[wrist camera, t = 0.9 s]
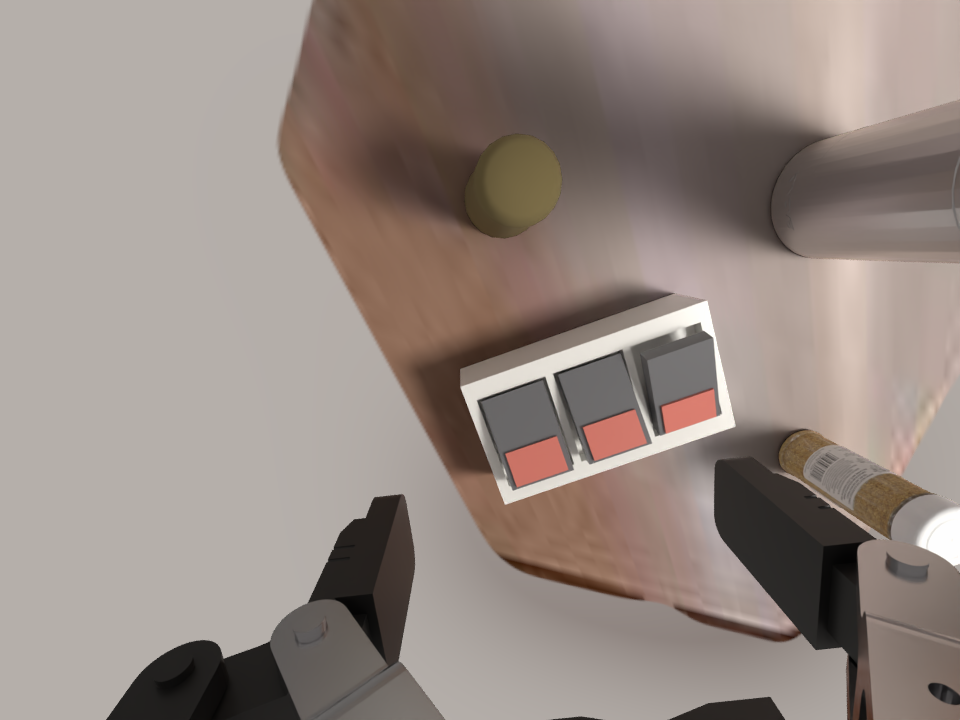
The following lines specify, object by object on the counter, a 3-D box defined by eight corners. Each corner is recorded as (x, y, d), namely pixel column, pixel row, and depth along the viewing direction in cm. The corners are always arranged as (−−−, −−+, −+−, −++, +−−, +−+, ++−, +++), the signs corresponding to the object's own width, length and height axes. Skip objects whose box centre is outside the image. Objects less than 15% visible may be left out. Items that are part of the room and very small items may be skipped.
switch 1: (541, 379, 35) (542, 380, 34) (571, 466, 35) (574, 470, 34) (481, 400, 36) (481, 401, 34) (512, 486, 35) (512, 491, 34)
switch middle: (616, 353, 35) (621, 353, 34) (647, 440, 35) (653, 443, 34) (556, 374, 35) (558, 374, 34) (586, 461, 35) (590, 465, 34)
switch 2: (703, 330, 33) (714, 338, 32) (711, 406, 36) (721, 416, 35) (639, 353, 33) (648, 361, 32) (653, 426, 37) (661, 437, 35)
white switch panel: (674, 293, 39) (707, 300, 34) (701, 404, 41) (735, 426, 36) (460, 368, 39) (460, 386, 34) (499, 473, 42) (505, 504, 37)
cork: (550, 169, 36) (589, 136, 25) (529, 247, 37) (557, 247, 27) (475, 147, 35) (482, 103, 25) (455, 226, 37) (454, 218, 26)
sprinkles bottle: (794, 482, 43) (939, 584, 30) (766, 451, 42) (903, 542, 29) (834, 450, 43) (999, 540, 30) (806, 418, 42) (964, 495, 29)
